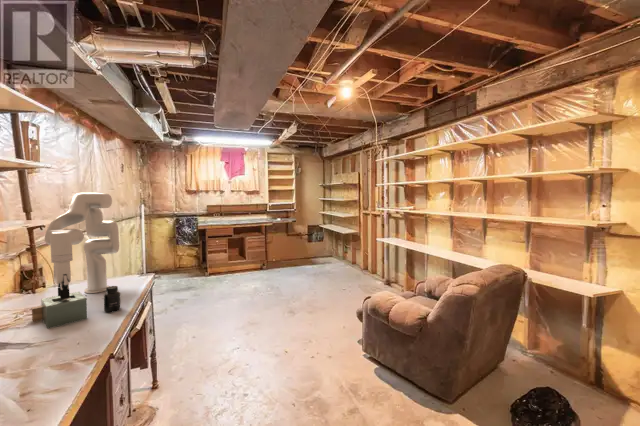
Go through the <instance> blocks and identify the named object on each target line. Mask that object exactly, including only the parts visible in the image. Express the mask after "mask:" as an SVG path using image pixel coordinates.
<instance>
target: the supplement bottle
mask: <svg viewBox="0 0 640 426" xmlns="http://www.w3.org/2000/svg"><path fill="white" fill-rule="evenodd" d="M109 286H110V287H107V288H106V291H105V293H104V294H103V310H104V311H103V312H104V313H108V314H109V313H110V314H111V313H115V312H118V311H120V310H121V292H120V291H119V289H118V288H119V287H118V286H117V285H109Z"/></svg>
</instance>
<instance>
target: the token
mask: <svg viewBox="0 0 640 426" xmlns="http://www.w3.org/2000/svg"><path fill="white" fill-rule="evenodd" d="M31 319H32V322H37V321H43V320H42V306H41V305H37V306H32V307H31Z"/></svg>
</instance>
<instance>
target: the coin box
mask: <svg viewBox="0 0 640 426" xmlns="http://www.w3.org/2000/svg"><path fill="white" fill-rule="evenodd" d="M69 295H70V297H68V298H71V299H67V298H63V299H61V298H60V296H58V295H55V296H50V297H45V298H41V300H40V302H41V304H40V306H42V320H41V321H42V322H43V324H44V326H45V327H46V329H53V328H56V327H60V326H65V325H69V324H72V323H75V322H80V321H84V320H87V319H88V309H87V308H88V307H87V305H88V304H87V297H86V296H85V295H84V294H82V293H81V292H80V291H75V292H69ZM64 299H66V300H64Z"/></svg>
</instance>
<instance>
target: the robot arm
mask: <svg viewBox="0 0 640 426" xmlns="http://www.w3.org/2000/svg"><path fill="white" fill-rule="evenodd" d="M112 204H113V199H112V196H111V195H110V194H109V193H102V192H101V193H100V192H77V193H75V194H74V195H73V196H72V199H71V200H70V203H69V206H68V208H67V211H66V212H65V213H63V214H60V215H59V216H58V217H56V218H55V219H54V220H52V221H51V222H50V223H49V224H48V227H47V229H46V230H45V234H44V242H45V244H47V245H48V246H50V263H52V264H53V282H54V284H56V285H57V296H60V298H61V299H63V298H68V297H70V295H69V294H70V288H69V287H70V286H69V283H71V282H72V281H71V280H72V279H71V278H72V276H71V275H72V274H71V262H72V261H73V260H74V259H73V245H79V244H81V243H82V242H83V240H85V234H84V232H83V231H82V230H80V229H78V228H77V229H75V228H70V229H67V228H66V227H70V226H73V225H77V224H78V223H81V222H84V224H85V233H86V235H87V236H88V237H93V238H91V239H90V238H89V239H87V240H86V241H84V244H83V250H84V254H85V260H86V261H85V262H86V279H87V280H86V282H87V284H86V285H87V286H86V287H87V288H85V289H84V291H83V292H84V293H85V294H96V293H98V294H99V293H102V292H106V288H107V287H110V286H111V285H108V281H107V280H108V279H107V261H106V259H105V257H104V256H103V255H112V254H117V253H118V252H119V250H120V234H119V226H118V223H117V222H116V221H113V220H104V217H103V212H102V210H101V209H108V208H110V207H111V206H112ZM65 228H66V229H65ZM96 237H98V238H96ZM99 237H100V238H99ZM103 237H107V238H103Z"/></svg>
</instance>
